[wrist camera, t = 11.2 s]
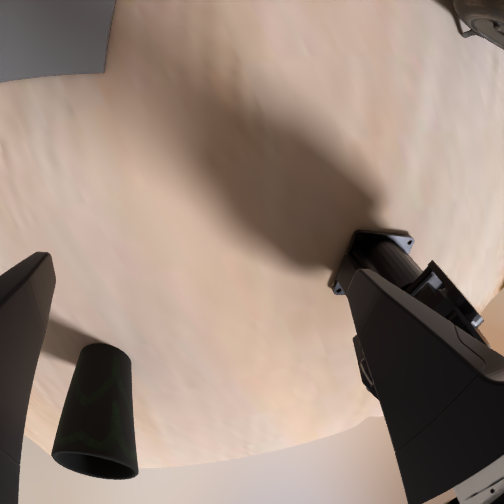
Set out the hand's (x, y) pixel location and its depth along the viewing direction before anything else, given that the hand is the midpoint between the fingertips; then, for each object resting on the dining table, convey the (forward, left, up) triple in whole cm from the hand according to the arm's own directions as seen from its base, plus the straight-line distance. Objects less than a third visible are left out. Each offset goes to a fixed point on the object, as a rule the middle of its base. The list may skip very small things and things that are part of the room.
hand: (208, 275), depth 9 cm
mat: (+12, -10, -13) cm, 20 cm away
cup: (+8, +22, -13) cm, 27 cm away
